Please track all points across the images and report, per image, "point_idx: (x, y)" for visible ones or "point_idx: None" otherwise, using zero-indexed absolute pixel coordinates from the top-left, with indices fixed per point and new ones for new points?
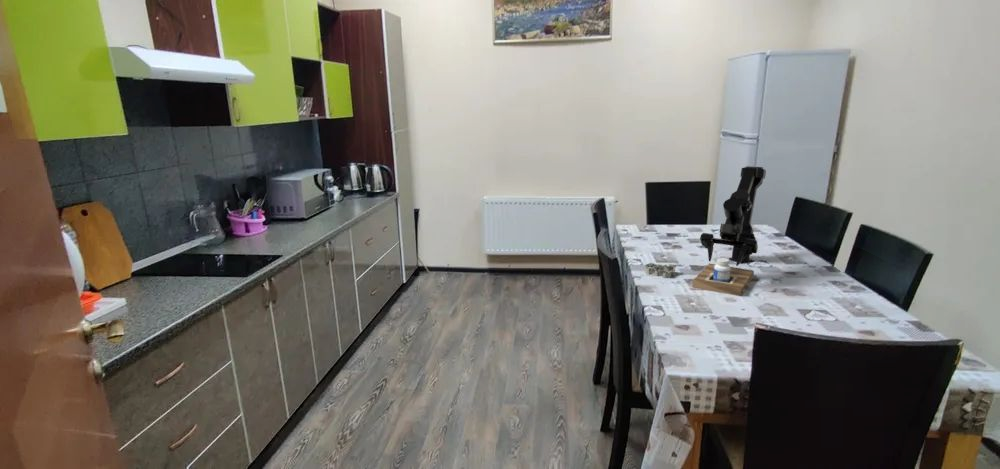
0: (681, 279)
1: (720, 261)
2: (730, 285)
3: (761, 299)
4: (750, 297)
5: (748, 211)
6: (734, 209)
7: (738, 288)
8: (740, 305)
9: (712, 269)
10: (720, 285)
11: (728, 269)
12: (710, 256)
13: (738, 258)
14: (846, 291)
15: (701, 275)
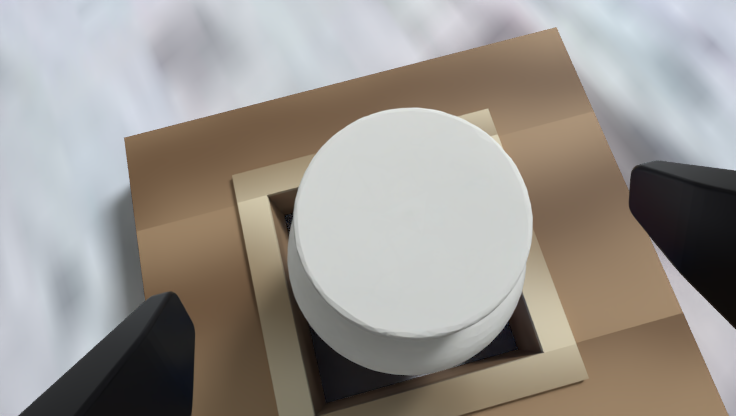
0: (721, 156)
1: (401, 109)
2: (239, 156)
3: (5, 220)
4: (88, 197)
5: None
6: None
7: (151, 139)
8: (99, 10)
9: None
10: (308, 92)
11: (292, 221)
12: (697, 180)
13: (100, 374)
14: None
15: (598, 209)
